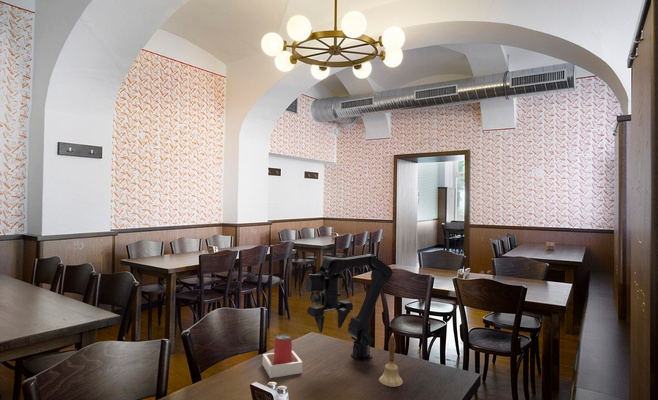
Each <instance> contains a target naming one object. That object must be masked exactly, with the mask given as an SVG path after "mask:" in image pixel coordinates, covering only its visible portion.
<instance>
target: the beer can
mask: <svg viewBox="0 0 658 400" xmlns="http://www.w3.org/2000/svg"><path fill="white" fill-rule="evenodd" d="M273 343H274V344H273V348H274V349H273V353H274V364H273V365H278V364H284V363H291V358H292V349H293V341H292V338H291V335H289V334H285V333H284V334H282V333H281V334H278V335H276V336H275V339H274V342H273Z"/></svg>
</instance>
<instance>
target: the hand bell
mask: <svg viewBox="0 0 658 400" xmlns="http://www.w3.org/2000/svg"><path fill="white" fill-rule="evenodd" d="M396 347H397V343H396V338H395V336H394V335H390V337H389V340H388V352H389V358H388V363H386V364H385V366H384V371H383V373H382V375H381V376H380V377H379V378H378V381H379V383H381V384H382V385H384V386H387V387H392V388H393V387H394V388H395V387H400V386H402V385H403V384H404V381H403V379H402V377H401V376H400V374H399V367H398V366H397V364H395V351H396Z"/></svg>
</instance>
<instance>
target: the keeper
mask: <svg viewBox="0 0 658 400" xmlns="http://www.w3.org/2000/svg"><path fill="white" fill-rule="evenodd" d="M262 366H263V368H264V370H265V372H266V373H267V375H268V377H269V379H272V378H279V377H285V376H292V375H298V374H303V361H302V359H301V358H300V357H299V356H298V355H297V354H296V352H295V351H294V350H292V358H291V363H284V364H278V365H274V352H269V353H268V352H267V353H263V354H262Z"/></svg>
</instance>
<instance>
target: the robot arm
mask: <svg viewBox="0 0 658 400" xmlns="http://www.w3.org/2000/svg"><path fill="white" fill-rule="evenodd" d="M364 266H367V267H368V269H369V270H370V271H371V273H370V280H371V283H370V285H369V288H368V289H367V293H366V295H365V297H364V300H363V303H362V306H361V307H360V309H359V311H358V314H357V315H356V316H355V317H353V316H351V318H350V321H349V323H348V324H347V333H348V335H349V336H350V338H351V340H352V341H353V345H352V353H351V354H350V356H351V357H353V358H355V359H357V360H359V361H364V360H367V359H372V358H373V355H372V354H370V353H371V349H370V348H371V345H373V342H374V338H373V336H372V335H371V334H370V329H371V324H370V320H371V316H372V315H373V312H374V310H375V307H376V305H377V302H378V299H379V297H380V294H381V292H382V289H383V288H384V287H385V286H386V285H387V284H388V283H389V282H390V280H391V278H392V275H393V270H392V267H390V265H387V264H386V263H385V262H383V261H381V260H380V259H379V258H378V257H377V256H376V255H374V254H370V253H366V254H362V255H357V256H356V255H355V256H349V257H335V256H334V257H333V256H331V257H330V256H328V257H327V256H326V257H325V258H324V259H323V261H322V264H321V265H320V267H319V268H318V270H317V272H316V273H315V274H313V273H307V277H306V279H305V282H304V288H305V291H306V293H308V294H309V293H317V292H318V293H319V292H321V295H318V294H311V296H310V297H311V298H310V301H311V304H314V305H309V306H308V307H307V311H306V312H307V313H306V314H307V315H310V317H313V318H314V321H315V323H316V325H317V329H318V331H319V333H320V334H321V333H323V329H324V324H325V316H324V314H325V313H327V312H331V311H335V310H336V313H337V328H338V329H341V328H342V327H343V324H344V322H345V320H346V319H347V317H348V316H349V313H351V311H353V310H354V304H353V303H352V302H351V301H348V300H345V299H343V300H339V297H341V293H340V292H339V286H340V285H339V282H340V279H344V278H345V277H344V275H343V274H341V273H343V272H344V271H346V270H348V269H352V268H357V267H364Z"/></svg>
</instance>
